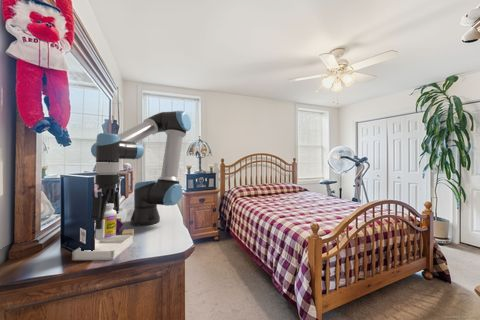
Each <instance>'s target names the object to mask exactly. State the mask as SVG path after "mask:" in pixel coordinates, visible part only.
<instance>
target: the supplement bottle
mask: <svg viewBox="0 0 480 320" xmlns="http://www.w3.org/2000/svg"><path fill="white" fill-rule="evenodd" d="M113 208H114V204H113V203H107V204H106V208H105V213H104V218H103V219H105V234H104V238H94V239H96V240H100V241H103V240H109V239H112V238H114V237H115V236H117V234H116V218H117V215H118V214H117V212H118V211H117V212H116V211H115V210H113ZM94 232H95V234H94V235H95V237H96V231H94Z"/></svg>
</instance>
